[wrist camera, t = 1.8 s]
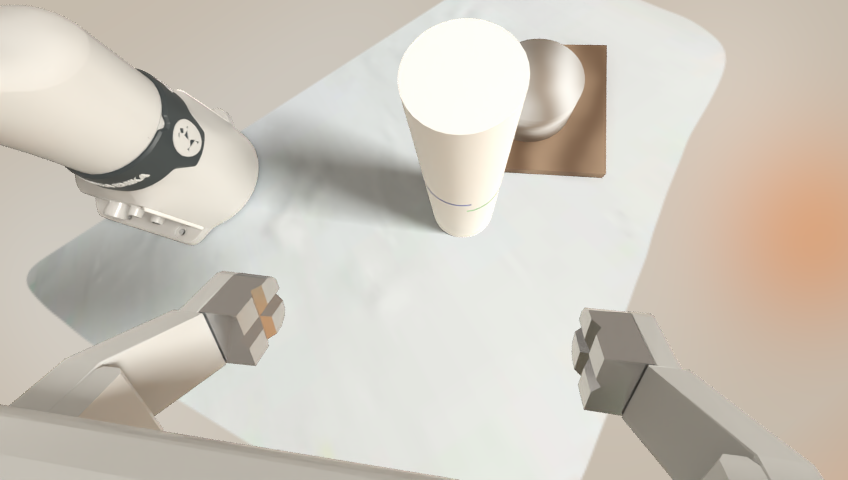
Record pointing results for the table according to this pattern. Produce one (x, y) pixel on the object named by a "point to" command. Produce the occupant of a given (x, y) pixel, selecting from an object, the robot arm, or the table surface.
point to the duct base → (577, 132)
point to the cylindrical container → (463, 115)
